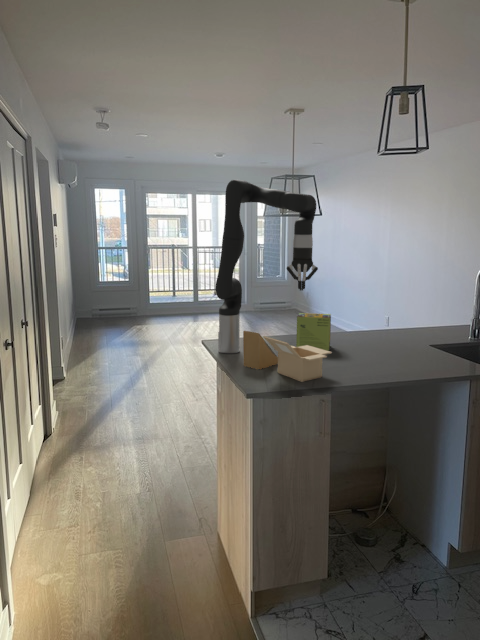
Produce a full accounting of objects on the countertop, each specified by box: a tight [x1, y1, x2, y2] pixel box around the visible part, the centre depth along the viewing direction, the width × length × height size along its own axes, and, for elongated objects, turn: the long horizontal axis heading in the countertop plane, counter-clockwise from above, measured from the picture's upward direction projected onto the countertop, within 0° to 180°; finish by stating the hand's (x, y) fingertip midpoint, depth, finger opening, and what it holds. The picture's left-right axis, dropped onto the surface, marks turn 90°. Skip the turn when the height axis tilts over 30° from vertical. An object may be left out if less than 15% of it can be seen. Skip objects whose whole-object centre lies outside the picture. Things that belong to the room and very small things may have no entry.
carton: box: [273, 345, 333, 383], centre depth 187 cm, size 20×15×9 cm
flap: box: [263, 335, 301, 358], centre depth 179 cm, size 14×9×1 cm
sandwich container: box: [242, 330, 278, 370], centre depth 201 cm, size 9×15×15 cm, turn 138°
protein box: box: [295, 312, 332, 351], centre depth 228 cm, size 10×15×16 cm
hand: (301, 290), depth 196 cm, fingers closed
